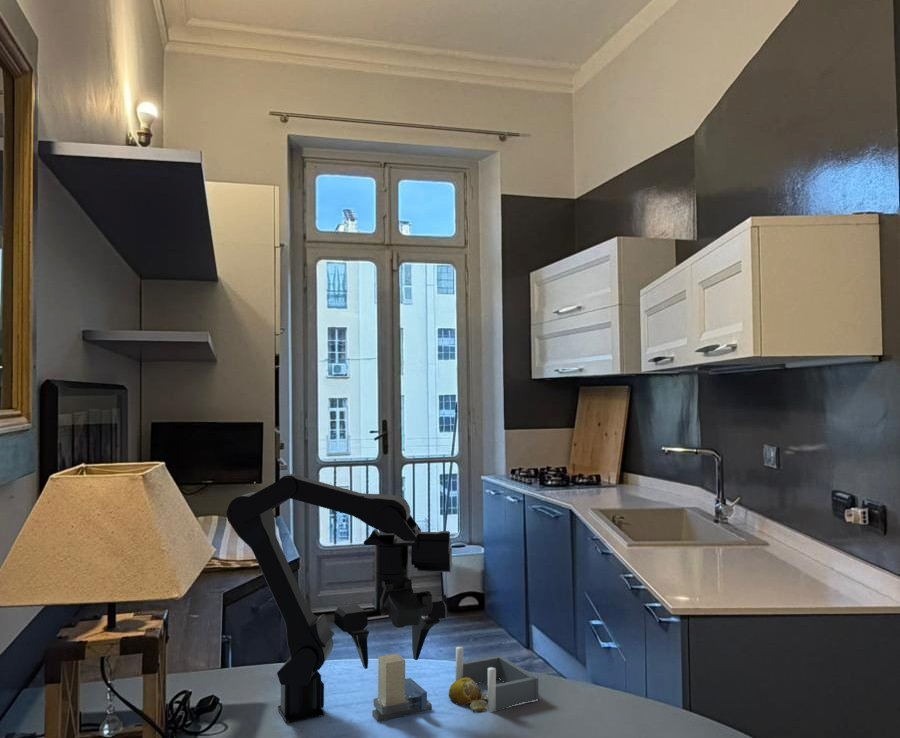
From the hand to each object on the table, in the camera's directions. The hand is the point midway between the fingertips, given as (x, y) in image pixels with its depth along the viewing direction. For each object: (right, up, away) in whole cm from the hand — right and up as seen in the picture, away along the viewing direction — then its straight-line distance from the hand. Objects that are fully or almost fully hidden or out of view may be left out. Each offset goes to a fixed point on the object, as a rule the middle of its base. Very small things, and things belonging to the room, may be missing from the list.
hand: (391, 663), depth 119 cm
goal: (+19, -9, +9) cm, 23 cm away
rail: (+2, -9, 0) cm, 9 cm away
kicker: (+1, -7, 0) cm, 7 cm away
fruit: (+14, -9, +5) cm, 18 cm away
